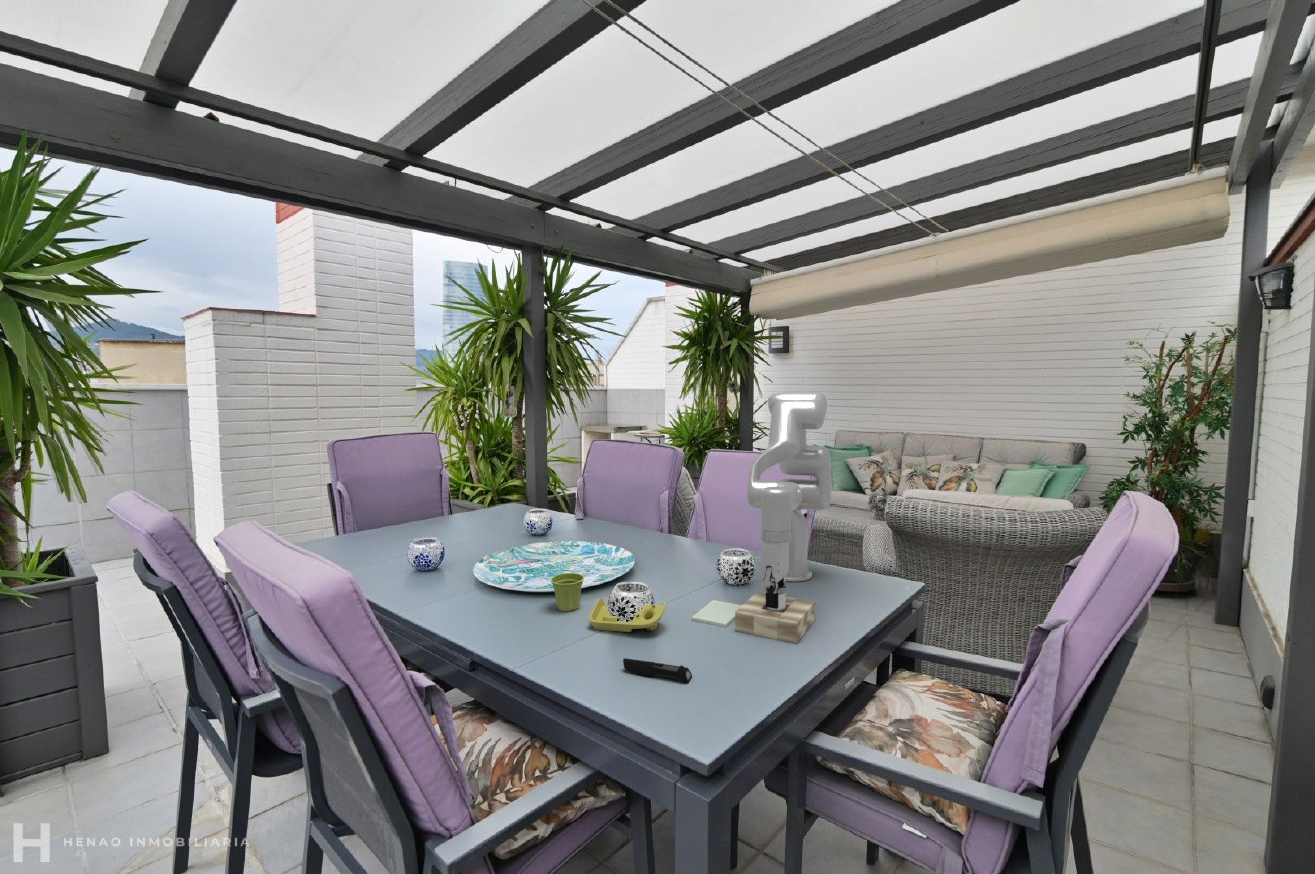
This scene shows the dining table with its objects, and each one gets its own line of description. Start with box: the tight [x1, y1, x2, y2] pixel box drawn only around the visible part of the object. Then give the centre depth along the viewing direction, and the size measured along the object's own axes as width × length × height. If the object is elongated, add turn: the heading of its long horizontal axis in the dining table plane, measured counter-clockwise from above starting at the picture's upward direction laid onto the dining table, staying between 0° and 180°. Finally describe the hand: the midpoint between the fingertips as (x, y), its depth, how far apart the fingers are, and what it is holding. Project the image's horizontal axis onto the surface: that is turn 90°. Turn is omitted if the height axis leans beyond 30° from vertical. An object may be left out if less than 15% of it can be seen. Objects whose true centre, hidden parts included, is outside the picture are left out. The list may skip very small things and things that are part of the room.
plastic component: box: [589, 597, 668, 633], centre depth 157 cm, size 20×7×10 cm
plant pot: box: [550, 572, 585, 612], centre depth 171 cm, size 9×9×9 cm
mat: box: [690, 599, 743, 628], centre depth 164 cm, size 14×10×1 cm
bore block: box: [734, 591, 816, 644], centre depth 156 cm, size 16×16×5 cm
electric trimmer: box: [622, 657, 693, 685], centre depth 131 cm, size 4×16×3 cm, turn 69°
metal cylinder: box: [766, 584, 787, 613], centre depth 156 cm, size 5×5×10 cm
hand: (775, 603), depth 156 cm, fingers closed on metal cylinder, 5 cm apart
